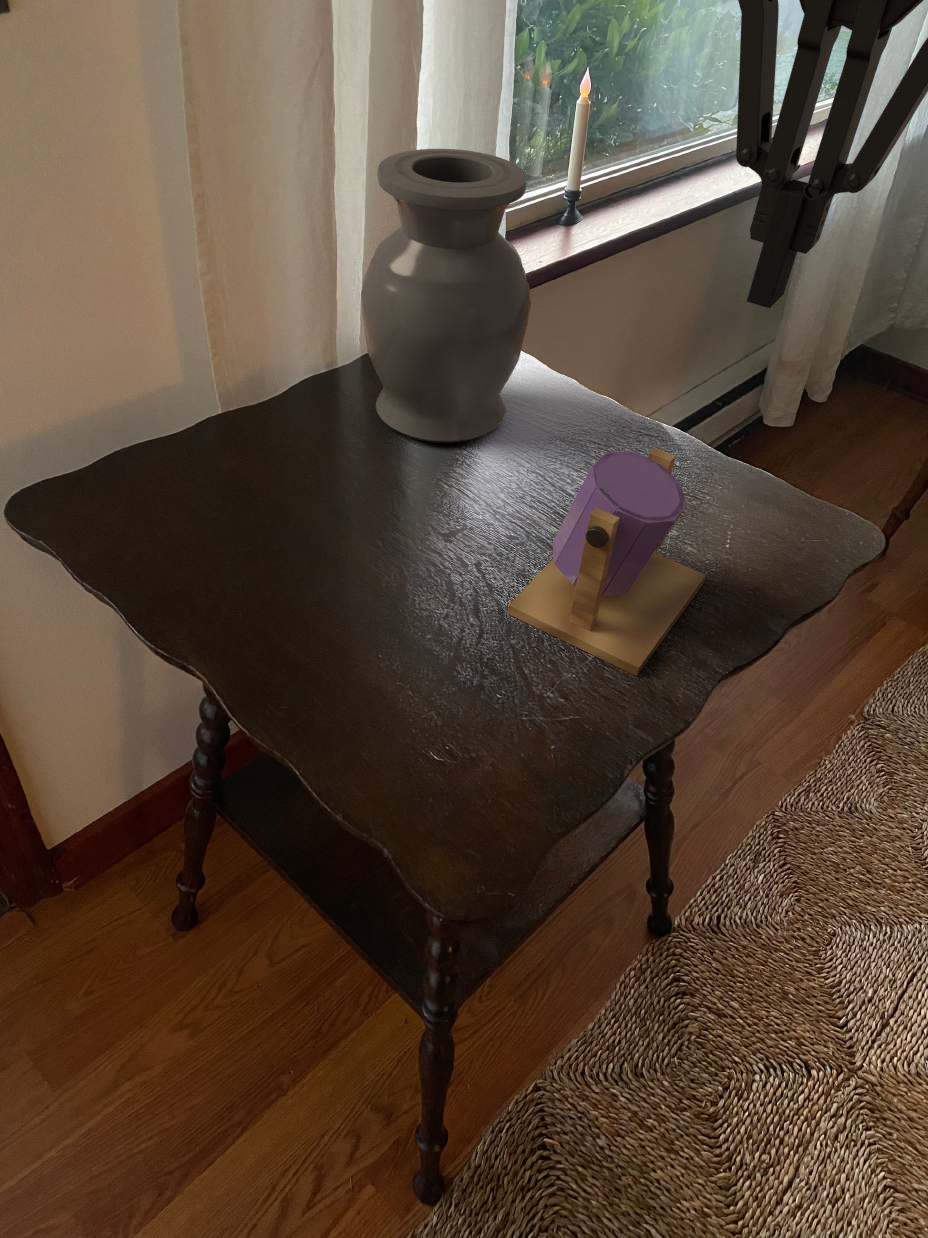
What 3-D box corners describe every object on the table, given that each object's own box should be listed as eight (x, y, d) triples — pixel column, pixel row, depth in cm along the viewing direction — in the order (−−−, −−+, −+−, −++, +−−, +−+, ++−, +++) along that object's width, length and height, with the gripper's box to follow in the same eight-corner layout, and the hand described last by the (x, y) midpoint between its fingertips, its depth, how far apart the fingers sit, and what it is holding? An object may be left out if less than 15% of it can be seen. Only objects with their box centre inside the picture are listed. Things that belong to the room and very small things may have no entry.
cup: (624, 433, 73) (583, 510, 79) (571, 484, 67) (532, 562, 74) (702, 486, 71) (654, 559, 78) (656, 542, 66) (608, 616, 72)
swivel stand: (703, 583, 80) (740, 470, 71) (636, 676, 71) (670, 559, 63) (584, 532, 84) (606, 419, 76) (507, 613, 75) (522, 497, 67)
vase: (348, 383, 101) (341, 142, 84) (488, 369, 106) (509, 137, 88) (384, 464, 90) (384, 205, 73) (539, 445, 94) (574, 196, 77)
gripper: (752, -234, 40) (645, 287, 56) (1069, -210, 35) (852, 351, 51) (804, -227, 44) (691, 252, 61) (1090, -205, 40) (885, 307, 56)
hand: (765, 297), depth 56 cm, fingers closed
